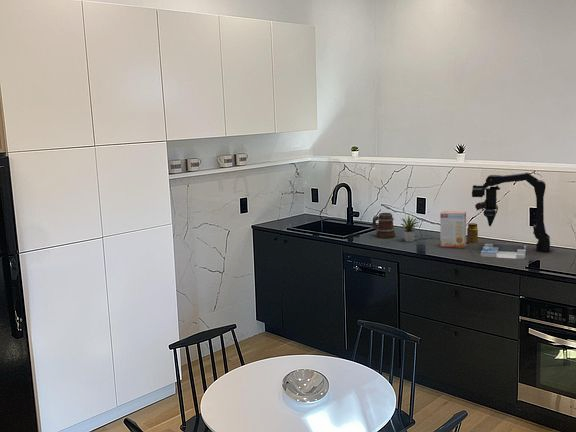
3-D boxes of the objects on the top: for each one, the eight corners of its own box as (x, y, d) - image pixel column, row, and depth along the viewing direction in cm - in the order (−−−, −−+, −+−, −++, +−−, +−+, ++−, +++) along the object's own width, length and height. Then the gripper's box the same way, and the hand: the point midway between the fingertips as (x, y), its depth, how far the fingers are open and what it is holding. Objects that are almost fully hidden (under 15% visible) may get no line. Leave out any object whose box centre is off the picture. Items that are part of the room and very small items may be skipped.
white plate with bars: (526, 251, 334) (526, 243, 333) (524, 260, 314) (524, 252, 313) (484, 248, 343) (485, 241, 342) (480, 258, 323) (480, 250, 322)
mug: (398, 235, 386) (398, 212, 383) (389, 239, 376) (389, 216, 374) (376, 233, 395) (376, 211, 393) (367, 236, 386) (367, 214, 383)
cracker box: (466, 246, 351) (466, 211, 347) (464, 248, 345) (465, 213, 341) (442, 244, 356) (442, 210, 353) (440, 247, 351) (440, 212, 347)
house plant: (410, 244, 360) (410, 218, 357) (392, 241, 370) (392, 215, 367) (424, 240, 369) (424, 214, 366) (406, 237, 379) (406, 212, 376)
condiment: (480, 243, 355) (481, 223, 353) (471, 245, 351) (471, 225, 349) (470, 241, 361) (471, 222, 359) (461, 243, 357) (461, 224, 355)
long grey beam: (523, 250, 330) (524, 243, 330) (523, 252, 327) (523, 245, 326) (493, 249, 337) (493, 242, 336) (492, 250, 333) (492, 243, 333)
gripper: (478, 194, 347) (477, 221, 349) (474, 199, 330) (473, 227, 333) (498, 195, 342) (497, 221, 345) (495, 200, 325) (494, 228, 328)
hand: (490, 224), depth 338 cm, fingers open, 9 cm apart
